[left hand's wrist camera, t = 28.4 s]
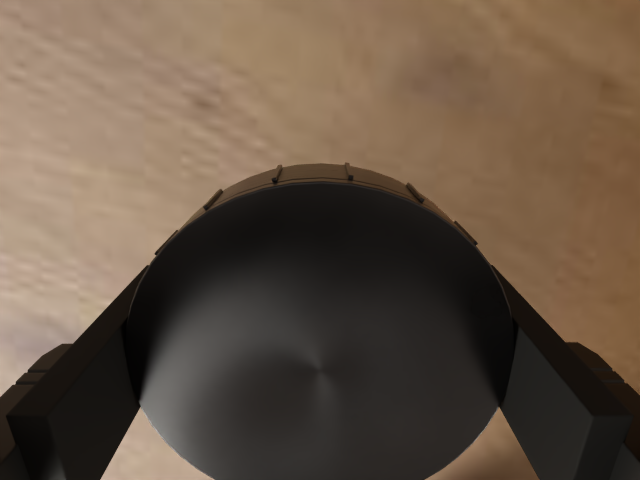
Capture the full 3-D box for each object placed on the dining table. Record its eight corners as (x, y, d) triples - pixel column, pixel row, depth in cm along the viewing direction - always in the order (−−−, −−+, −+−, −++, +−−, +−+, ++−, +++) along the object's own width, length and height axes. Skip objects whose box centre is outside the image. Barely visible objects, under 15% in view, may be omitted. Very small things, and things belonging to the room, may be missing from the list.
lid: (282, 78, 10) (274, 77, 8) (555, 301, 12) (600, 344, 10) (95, 347, 13) (53, 396, 11) (344, 488, 15) (348, 551, 13)
